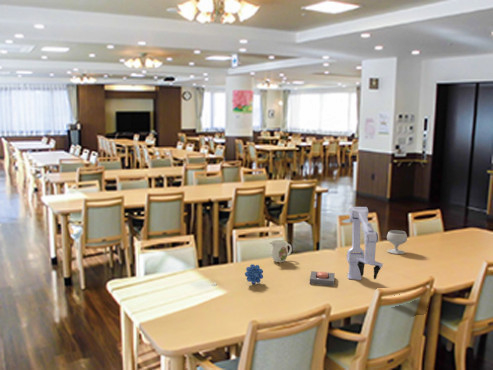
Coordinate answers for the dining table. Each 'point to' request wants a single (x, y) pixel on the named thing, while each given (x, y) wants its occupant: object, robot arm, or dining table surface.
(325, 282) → the button housing
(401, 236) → the chalice
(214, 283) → the paper
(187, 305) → the dining table surface
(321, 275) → the button
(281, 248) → the pitcher
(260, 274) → the grapes
